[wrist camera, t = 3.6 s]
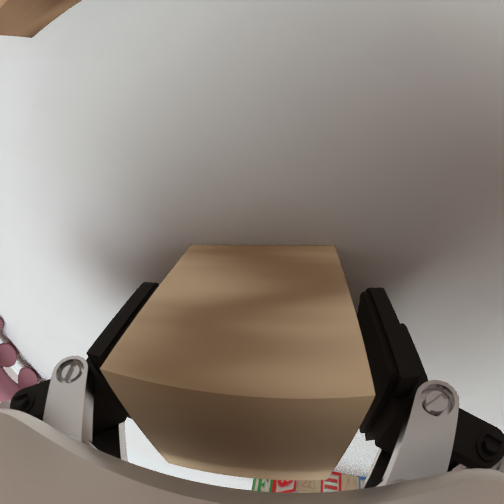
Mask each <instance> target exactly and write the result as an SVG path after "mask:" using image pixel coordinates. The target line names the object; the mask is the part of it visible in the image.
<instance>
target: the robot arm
mask: <svg viewBox="0 0 504 504" xmlns="http://www.w3.org/2000/svg"><path fill="white" fill-rule="evenodd" d="M158 286H159V284H158V283H149V282H143V283H142V284H141V285H140V287H139V288H138V289H137V290H136V291H135V292H134V294H133V295H132V296H131V297H130V298H129V300H128V301H127V302H126V303H125V305H124V306H123V307H122V308H121V309H120V311H119V312H118V313H117V314H116V316H115V317H114V318H113V319H112V321H111V322H110V323H109V324H108V326H107V327H106V328H105V329H104V331H103V332H102V333H101V335H100V336H99V337H98V338H97V340H96V341H95V342H94V344H93V345H92V346H91V348H90V349H89V350H88V352H87V355H88V358H87V360H85V359H84V358H83V357H80V356H70V357H67V358H65V359H63V360H61V361H60V362H59V363H58V364H57V365H56V366H55V368H54V370H53V373H52V377H51V379H50V380H47V381H44V382H41V383H38V384H35V385H32V386H29V387H26V388H23V389H21V390H19V391H18V392H16V393H15V394H14V396H13V397H12V399H11V401H10V400H7V401H5V402H2V403H0V504H504V434H503V433H502V431H501V430H500V429H498V428H497V427H495V426H493V425H491V424H489V423H487V422H485V421H483V420H481V419H479V418H477V417H476V416H474V415H472V414H470V413H468V412H466V411H464V410H462V409H460V408H459V397H458V394H457V392H456V391H455V389H454V388H453V387H452V386H451V385H449V384H448V383H446V382H443V381H440V380H431V381H428V378H427V376H426V373H425V370H424V368H423V365H422V363H421V360H420V358H419V355H418V353H417V350H416V348H415V345H414V343H413V341H412V338H411V336H410V334H409V332H408V329H407V327H406V326H405V324H403V323H402V324H400V322H399V320H398V318H397V316H396V313H395V311H394V309H393V307H392V305H391V302H390V300H389V298H388V296H387V294H386V292H385V290H384V288H367V290H366V292H362V293H361V296H360V301H359V307H358V312H357V319H358V323H359V327H360V330H361V334H362V338H363V342H364V346H365V350H366V354H367V359H368V363H369V367H370V372H371V376H372V381H373V385H374V390H375V397H374V399H373V402H372V404H371V406H370V408H369V410H368V412H367V414H366V416H365V418H364V419H363V421H362V423H361V425H360V427H359V429H360V432H361V433H365V438H366V441H368V440H375V445H376V446H377V447H379V450H378V453H377V455H376V457H375V459H374V462H373V464H372V466H371V468H370V471H369V473H368V475H367V477H366V479H365V481H364V483H363V485H362V487H361V489H356V490H347V491H336V492H319V493H279V492H263V491H251V490H242V489H234V488H227V487H220V486H214V485H209V484H204V483H199V482H194V481H190V480H185V479H181V478H177V477H173V476H170V475H166V474H163V473H159V472H156V471H153V470H149V469H146V468H143V467H140V466H137V465H135V464H132V463H129V462H128V460H127V450H126V438H125V423H124V422H125V420H126V418H127V417H128V418H131V416H130V415H129V413H128V412H127V411H126V409H125V408H124V406H123V405H122V403H121V402H120V400H119V399H118V397H117V396H116V394H115V393H114V391H113V390H112V388H111V387H110V385H109V383H108V382H107V380H106V379H105V377H104V375H103V374H102V372H101V370H100V368H101V366H102V365H103V363H104V362H105V360H106V359H107V357H108V356H109V354H110V353H111V351H112V350H113V348H114V347H115V346H116V344H117V343H118V341H119V340H120V338H121V337H122V336H123V334H124V333H125V331H126V330H127V329H128V327H129V326H130V324H131V323H132V322H133V320H134V319H135V317H136V316H137V315H138V313H139V312H140V311H141V309H142V308H143V306H144V305H145V304H146V302H147V301H148V300H149V298H150V297H151V296H152V294H153V293H154V292H155V290H156V289H157V288H158Z"/></svg>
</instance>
